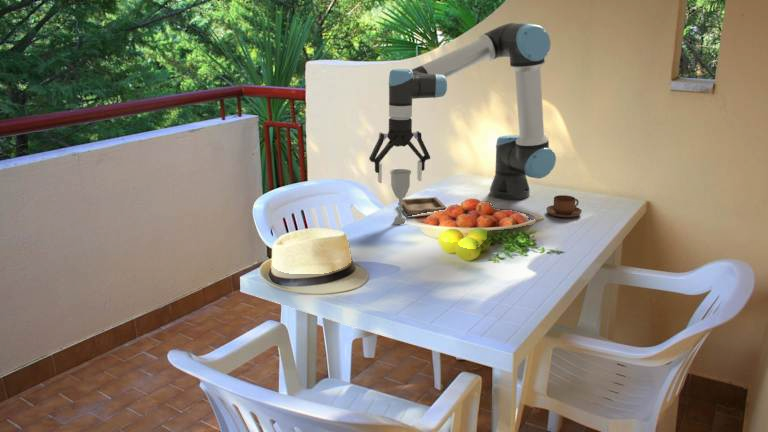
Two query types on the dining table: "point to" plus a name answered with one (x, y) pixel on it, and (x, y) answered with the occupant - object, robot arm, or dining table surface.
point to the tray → (422, 205)
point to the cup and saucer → (564, 207)
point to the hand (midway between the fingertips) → (399, 181)
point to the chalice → (400, 189)
